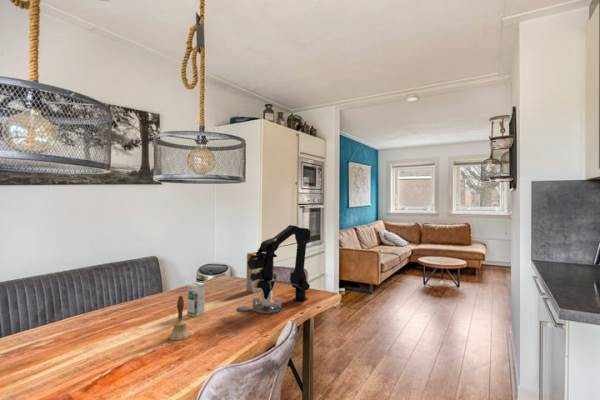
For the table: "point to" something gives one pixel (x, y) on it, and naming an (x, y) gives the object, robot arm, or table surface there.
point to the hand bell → (180, 324)
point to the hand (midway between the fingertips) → (267, 297)
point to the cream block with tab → (267, 301)
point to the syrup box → (196, 299)
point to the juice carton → (250, 284)
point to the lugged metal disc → (266, 307)
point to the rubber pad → (243, 309)
